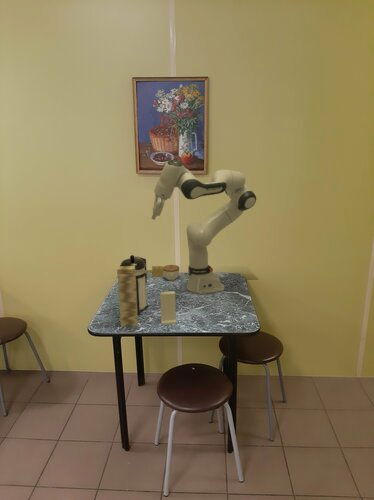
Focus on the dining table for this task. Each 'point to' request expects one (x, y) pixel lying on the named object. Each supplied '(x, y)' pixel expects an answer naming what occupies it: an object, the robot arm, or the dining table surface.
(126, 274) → the birch bearing block
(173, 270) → the lidded jar
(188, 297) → the dining table surface
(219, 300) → the dining table surface
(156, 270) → the beige mallet
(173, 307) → the cream rest post
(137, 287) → the coffee press
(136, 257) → the supplement box
